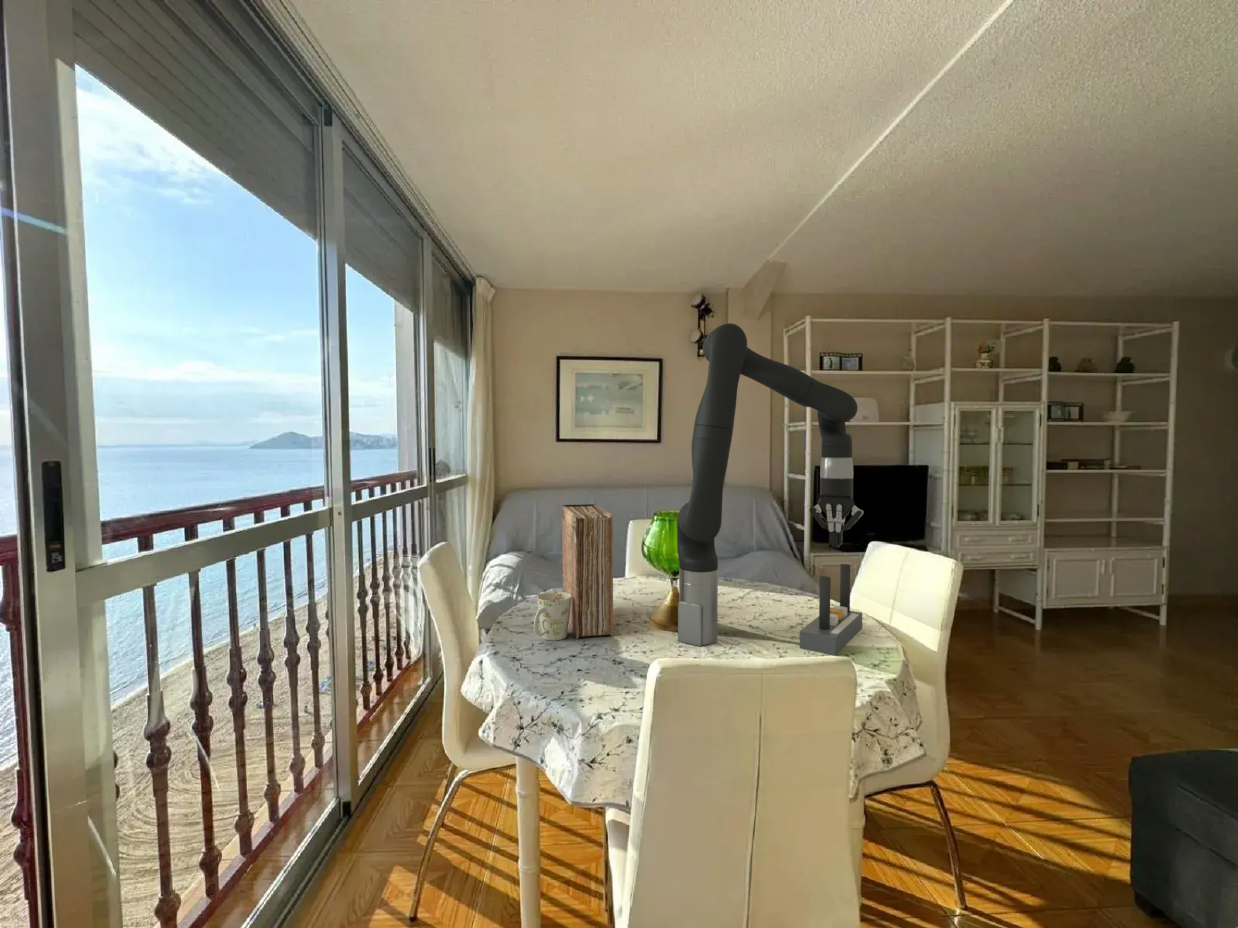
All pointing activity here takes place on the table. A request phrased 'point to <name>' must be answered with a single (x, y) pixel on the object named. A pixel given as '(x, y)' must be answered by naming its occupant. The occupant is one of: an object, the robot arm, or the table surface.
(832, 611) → the orange paddle
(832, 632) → the switch panel
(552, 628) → the mug
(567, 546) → the book
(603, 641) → the table surface
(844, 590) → the post
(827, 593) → the post
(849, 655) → the table surface
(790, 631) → the table surface
